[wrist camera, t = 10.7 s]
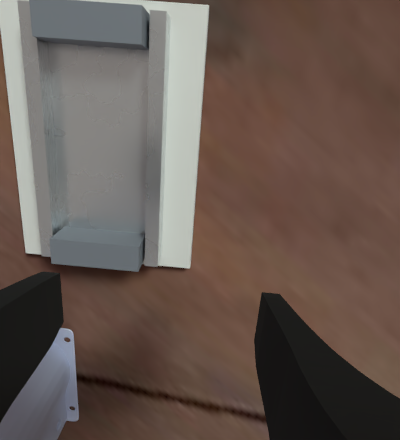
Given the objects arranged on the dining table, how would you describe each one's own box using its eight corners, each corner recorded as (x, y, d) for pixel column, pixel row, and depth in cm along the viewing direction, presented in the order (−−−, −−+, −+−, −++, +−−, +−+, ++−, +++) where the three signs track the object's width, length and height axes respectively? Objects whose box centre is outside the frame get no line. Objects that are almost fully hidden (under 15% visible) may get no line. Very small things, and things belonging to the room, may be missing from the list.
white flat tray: (191, 262, 23) (186, 286, 20) (32, 248, 23) (5, 269, 20) (209, 9, 18) (207, -9, 15) (5, -6, 18) (-36, -26, 15)
